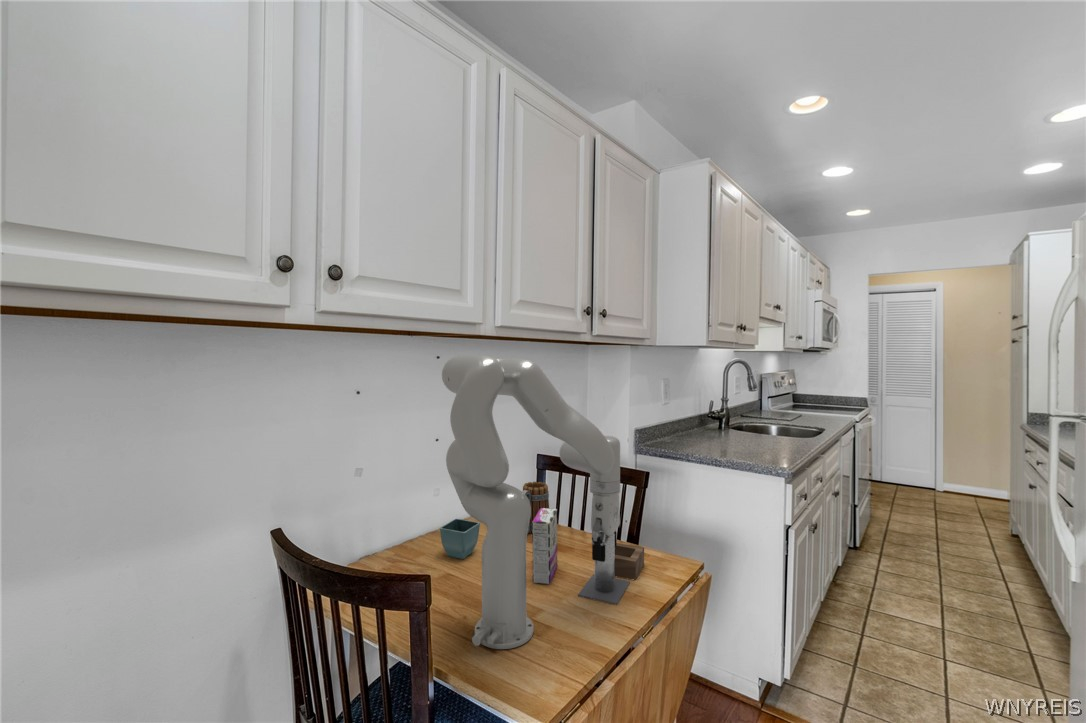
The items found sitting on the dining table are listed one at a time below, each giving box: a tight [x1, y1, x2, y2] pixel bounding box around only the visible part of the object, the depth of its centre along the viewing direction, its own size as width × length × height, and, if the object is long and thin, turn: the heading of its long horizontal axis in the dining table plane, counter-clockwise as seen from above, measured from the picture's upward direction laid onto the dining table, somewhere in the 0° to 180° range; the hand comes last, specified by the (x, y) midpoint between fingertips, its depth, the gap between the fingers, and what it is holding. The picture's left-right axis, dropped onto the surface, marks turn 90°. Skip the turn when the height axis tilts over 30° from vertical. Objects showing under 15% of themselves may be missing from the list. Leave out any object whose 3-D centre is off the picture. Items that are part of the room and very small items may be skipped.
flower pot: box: [439, 518, 481, 560], centre depth 143 cm, size 9×9×9 cm
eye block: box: [615, 542, 645, 581], centre depth 134 cm, size 10×10×5 cm
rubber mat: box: [577, 573, 631, 606], centre depth 122 cm, size 12×10×1 cm
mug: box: [521, 481, 550, 534], centre depth 162 cm, size 16×11×15 cm
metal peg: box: [594, 530, 616, 593], centre depth 122 cm, size 5×5×14 cm
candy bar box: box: [531, 507, 558, 585], centre depth 130 cm, size 11×5×16 cm, turn 168°
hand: (604, 552), depth 122 cm, fingers open, 9 cm apart
